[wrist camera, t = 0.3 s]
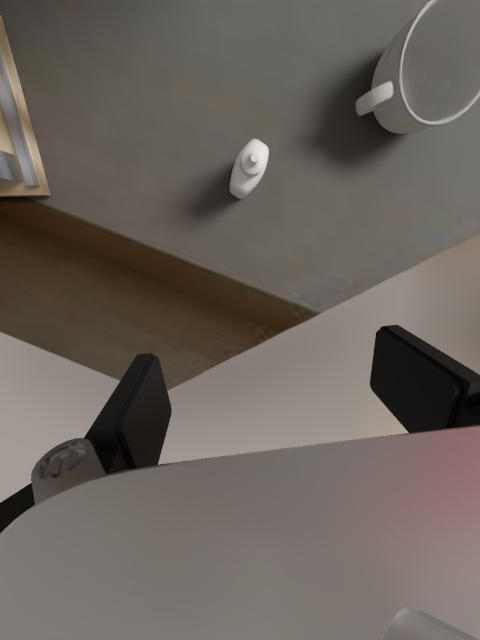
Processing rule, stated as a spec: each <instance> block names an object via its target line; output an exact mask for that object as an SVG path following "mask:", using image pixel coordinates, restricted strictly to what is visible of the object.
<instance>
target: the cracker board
mask: <svg viewBox="0 0 480 640" xmlns="http://www.w3.org/2000/svg"><path fill="white" fill-rule="evenodd" d="M0 150H1V151H4V152H7V153H10V154H14V156H15V159H16V163H17V166H18V169H19V172H20V176H21V179H22V182H0V197H5V196H51V194H50V190H49V187H48V183H47V179H46V176H45V172H44V169H43V165H42V161H41V158H40V154H39V150H38V147H37V143H36V139H35V136H34V132H33V128H32V125H31V121H30V118H29V114H28V110H27V107H26V103H25V99H24V96H23V92H22V88H21V85H20V81H19V77H18V74H17V70H16V67H15V63H14V59H13V56H12V52H11V48H10V45H9V41H8V37H7V34H6V30H5V26H4V23H3V19H2V16H1V15H0Z"/></svg>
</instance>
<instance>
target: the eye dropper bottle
mask: <svg viewBox="0 0 480 640" xmlns="http://www.w3.org/2000/svg"><path fill="white" fill-rule="evenodd" d="M268 154H269V150H268V147H267V146H266V145H265V144H264V143H262V142H261V141H259V140H258V139H252V140H251V141H250V142H249V143H247V144H246V145H245V147H244V148H243V149H242V150H241V152H240V153H239V155H238V157H237V159H236V161H235V164H234V167H233V170H232V175H231V180H230V193H231V194H233V195H234V196H236V197H237V198H239V199H243V198H244V197H246V196H247V195H248V194H249V193H250V192H251V191H252V190H253V188H254V187H255V186H256V185H257V184H258V182H259V181H260V179H261V177H262V176H263V173H264V171H265V168H266V165H267V161H268Z"/></svg>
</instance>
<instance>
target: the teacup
mask: <svg viewBox="0 0 480 640" xmlns="http://www.w3.org/2000/svg"><path fill="white" fill-rule="evenodd" d="M479 96H480V0H429V1H428V2H427V3H426V4H425V5H424V7H423V8H422V9H421V10H420V11H419V13H418V14H417V15H416V16H414V17H413V18H412V19H411V20H410V21H409V22H408V23H407V24H406V25H405V26H404V27H403V28H402V30H401V31H400V32H399V33H398V34H397V35H396V36H395V37H394V38H393V40H392V41H391V42H390V44H389V45H388V46H387V48H386V49H385V51H384V53H383V54H382V56H381V58H380V60H379V62H378V64H377V67H376V70H375V72H374V76H373V80H372V87H371V91H369V92H367V93H366V94H364V95H363V96H361V97H360V98H359V99H358V100H357V102H356V111H357V114H358V115H359V116H361V115H364V114H367V113H369V112H372V111H373V112H374V114H375V117H376V119H377V120H378V122H379V123H380V124H381V125H382V127H384V128H385V129H386V130H388V131H390V132H393V133H398V134H407V133H413V132H417V131H420V130H424V129H427V128H430V127H433V126H436V125H441V124H444V123H447V122H450V121H452V120H454V119H456V118H457V117H459V116H460V115H461V114H463V113H464V112H465V111H466V110H468V109H469V108H470V106H471V105H472V104H473V103H474V102H475V101H476V100H477V99H478V97H479Z"/></svg>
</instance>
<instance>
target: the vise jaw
mask: <svg viewBox="0 0 480 640" xmlns="http://www.w3.org/2000/svg"><path fill="white" fill-rule="evenodd" d="M0 182H22V179H21V176H20V172H19V169H18V166H17V163H16V159H15V156H14V154H10V153H7V152H4V151H1V150H0Z"/></svg>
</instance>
